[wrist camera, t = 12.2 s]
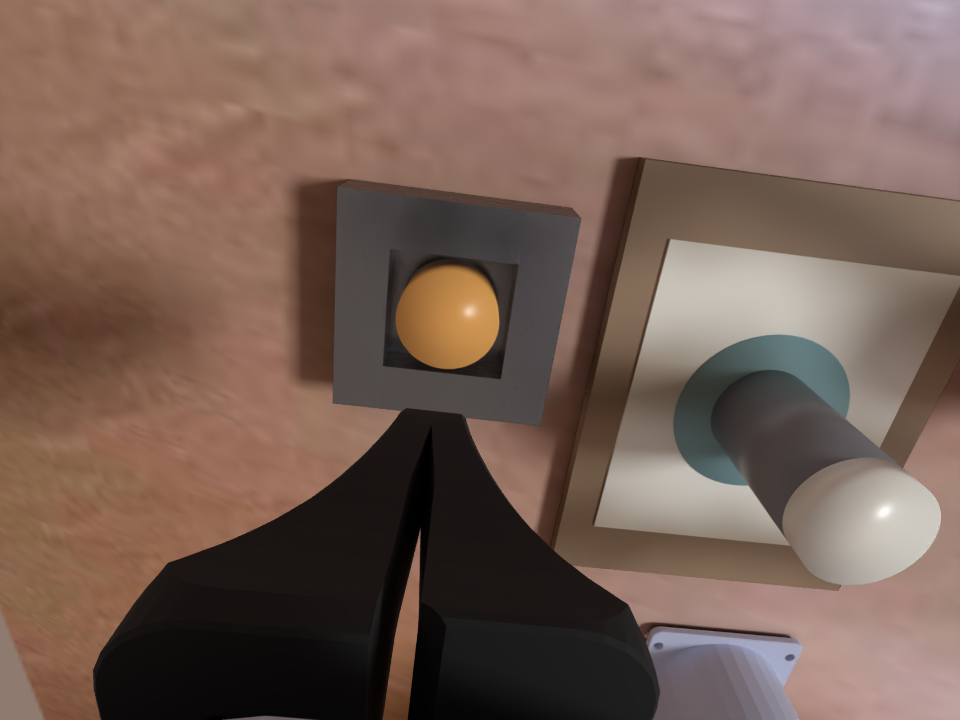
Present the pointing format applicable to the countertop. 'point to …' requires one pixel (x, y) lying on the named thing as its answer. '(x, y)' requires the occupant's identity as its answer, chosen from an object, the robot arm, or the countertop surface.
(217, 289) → the countertop surface
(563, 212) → the button housing
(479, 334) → the button
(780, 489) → the grey domed cylinder
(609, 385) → the picture frame
